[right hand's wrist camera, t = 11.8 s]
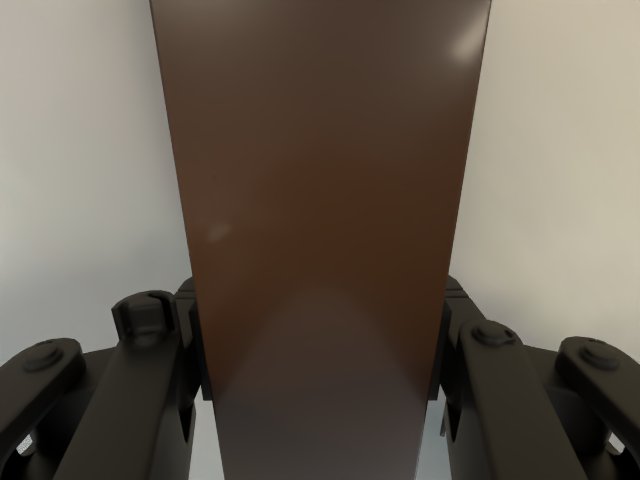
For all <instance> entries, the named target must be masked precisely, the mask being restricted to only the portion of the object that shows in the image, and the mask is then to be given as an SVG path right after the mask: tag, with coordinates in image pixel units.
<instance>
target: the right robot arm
mask: <svg viewBox="0 0 640 480" xmlns="http://www.w3.org/2000/svg"><path fill="white" fill-rule="evenodd" d="M111 310H112V314H113V318H114V322H115V325H116V329H117V333H118V336H119V342H118V344H117V346H116V347H112V348H108V349H103V350H98V351H93V352H88V353H83V352H82V349H81V346H80V343H79V342H77V341H76V340H75V339H70V338H59V339H51V340H46V341H43V342H40V343H37V344H35V345H33V346H31V347H29V348H27V349H24V350H23V351H21V352H20V353H18V354H17V355H15V356H14V357H12V358H11V359H10V360H9V361H8V362H6V363H5V364H4V365H3V366H1V367H0V480H188V478H189V470H190V462H191V453H192V445H193V436H194V428H195V420H196V409H195V403H194V399H195V397H196V394H197V392H198V390H199V387H200V385H201V389H202V395H203V401H212V396H211V390H210V383H209V377H208V371H207V364H206V358H205V351H204V345H203V339H202V332H201V326H200V320H199V313H198V307H197V301H196V294H195V288H194V282H193V276H192V277H190V278H189V279H187V280H186V281H184V282H183V284H182V285H181V286H180V288H179V289H178V292H176V293H175V294H174V295H173V294H171V293H170V292H167V291H162V290H150V291H145V292H140V293H136V294H134V295H131V296H128V297H126V298H124V299H123V300H121V301H119V302H118V303H116V304H115V306H114V307H113V308H112V309H111ZM440 384H441V387H442V389H443V391H444V394H445V396H446V403H445V409H444V414H443V419H442V425H441V431H440V436H443V437H444V436H445V431H446V436H447V444H448V452H449V461H450V469H451V477H452V480H640V365H639V364H638V363H637V362H636V361H635V360H633V359H632V358H631V357H630V356H628V355H627V354H625V353H624V352H622V351H621V350H619V349H618V348H616V347H614V346H611V345H609V344H607V343H605V342H603V341H600V340H595V339H593V338H587V337H578V336H575V337H568V338H566V339H564V340H563V341H562V342H561V345H560V348H559V351H558V352H555V351H550V350H545V349H540V348H535V347H530V346H527V345H523V343H522V341H521V339H520V338H519V337H518V336H517V334H516V333H515V332H514V331H512V330H511V329H509V328H508V327H506V326H504V325H502V324H500V323H497V322H495V321H490V320H487V319H486V318H485V317H484V315H483V314H482V313H481V311H480V310H479V309H478V308H477V306H476V305H475V304H474V302H473V301H472V300H471V298H469V296H468V295H467V293H466V292H465V291H463V288H462V287H461V285H460V284H459V283H458V281H457V280H456V279H454V278H452V277H451V276H449V275H448V278H447V284H446V291H445V297H444V303H443V309H442V316H441V322H440V328H439V335H438V341H437V347H436V353H435V360H434V366H433V372H432V379H431V385H430V391H429V397H428V400H437V398H438V392H439V386H440ZM612 432H613V433H614V434H615V435H616V437H617V438H618V439H619V440H620V441H621V442H622V443H623V444H624V446H625V448H624V450H623V452H622V453H620V452H619V451H617V450H616V449H615V448H614V447H613V446H612V444H611V443H610V442H609V438H610V436H611V434H612ZM28 434H29V435H30V437H31V439H32V441H33V442H32V444H31V445H30V446H29V447H28V448H27V449H26V450H25V451H24V452H23V453H21V454H19V453H18V451H17V449H16V448H17V447H18V445H19V444H20V443H21V442H22V441H23V440H24V439H25V438H26V436H27V435H28Z"/></svg>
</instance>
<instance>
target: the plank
mask: <svg viewBox="0 0 640 480" xmlns="http://www.w3.org/2000/svg"><path fill="white" fill-rule="evenodd" d="M149 2H150V9H151V15H152V21H153V28H154V34H155V40H156V47H157V53H158V59H159V66H160V72H161V78H162V85H163V91H164V97H165V104H166V110H167V116H168V123H169V129H170V136H171V142H172V148H173V155H174V161H175V167H176V174H177V180H178V186H179V193H180V199H181V205H182V212H183V218H184V224H185V231H186V237H187V244H188V250H189V256H190V263H191V269H192V275H193V282H194V288H195V294H196V301H197V307H198V313H199V320H200V326H201V332H202V339H203V345H204V351H205V358H206V364H207V371H208V377H209V383H210V390H211V396H212V402H213V409H214V415H215V421H216V428H217V434H218V440H219V447H220V453H221V459H222V466H223V472H224V479H225V480H415V479H416V473H417V466H418V460H419V454H420V448H421V441H422V435H423V429H424V423H425V416H426V410H427V404H428V397H429V391H430V385H431V379H432V372H433V366H434V360H435V353H436V347H437V341H438V335H439V328H440V322H441V316H442V309H443V303H444V297H445V291H446V284H447V278H448V272H449V266H450V259H451V253H452V247H453V240H454V234H455V228H456V222H457V215H458V209H459V203H460V196H461V190H462V184H463V178H464V171H465V165H466V159H467V153H468V146H469V140H470V134H471V127H472V121H473V115H474V109H475V102H476V96H477V90H478V83H479V77H480V71H481V65H482V58H483V52H484V46H485V39H486V33H487V27H488V21H489V14H490V8H491V2H492V0H149Z"/></svg>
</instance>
